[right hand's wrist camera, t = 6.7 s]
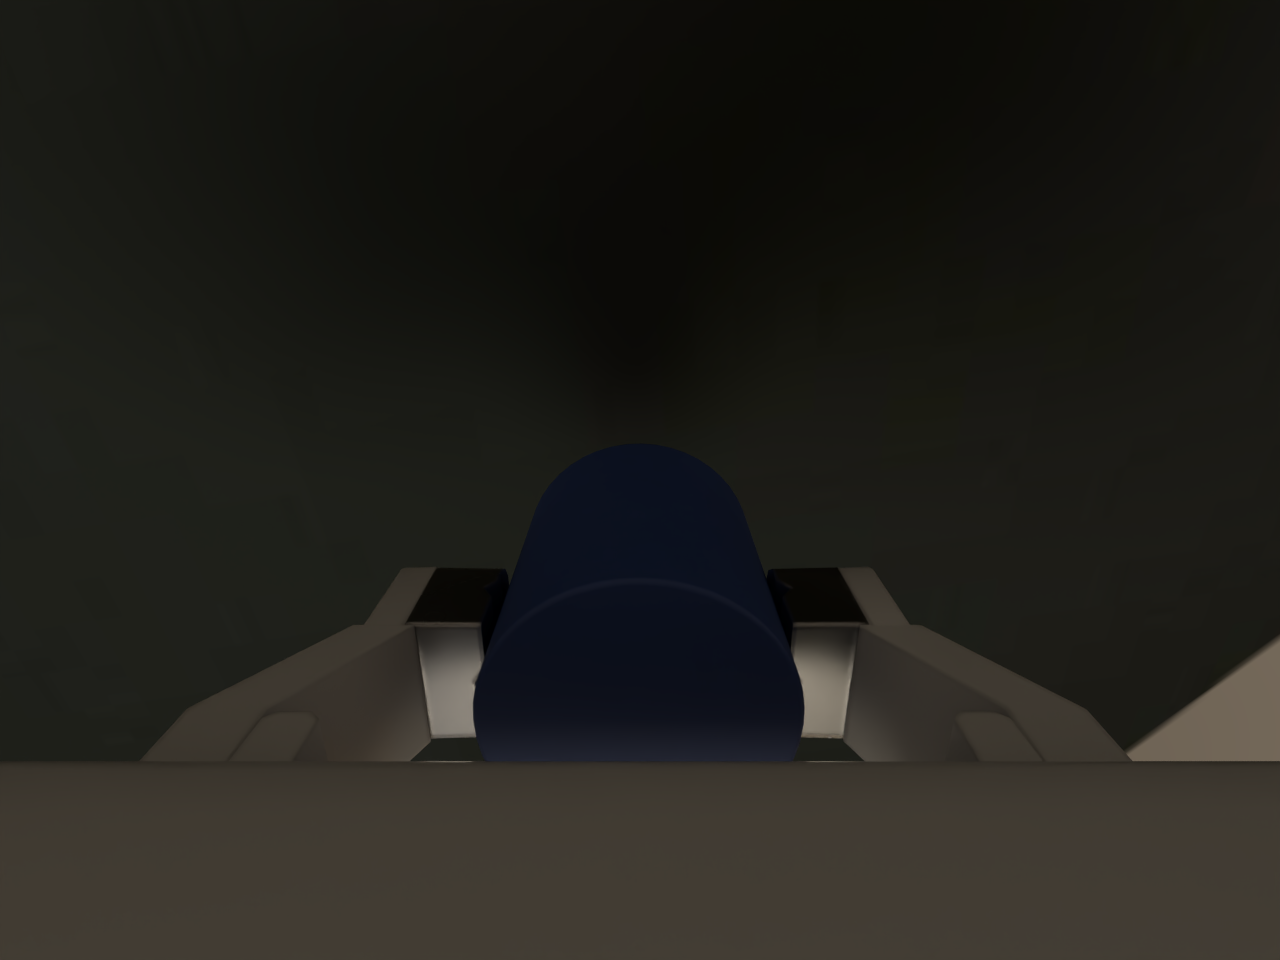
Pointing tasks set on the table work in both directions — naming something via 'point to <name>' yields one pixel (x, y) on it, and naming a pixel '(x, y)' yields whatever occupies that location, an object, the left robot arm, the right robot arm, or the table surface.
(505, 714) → the can
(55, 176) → the table surface
